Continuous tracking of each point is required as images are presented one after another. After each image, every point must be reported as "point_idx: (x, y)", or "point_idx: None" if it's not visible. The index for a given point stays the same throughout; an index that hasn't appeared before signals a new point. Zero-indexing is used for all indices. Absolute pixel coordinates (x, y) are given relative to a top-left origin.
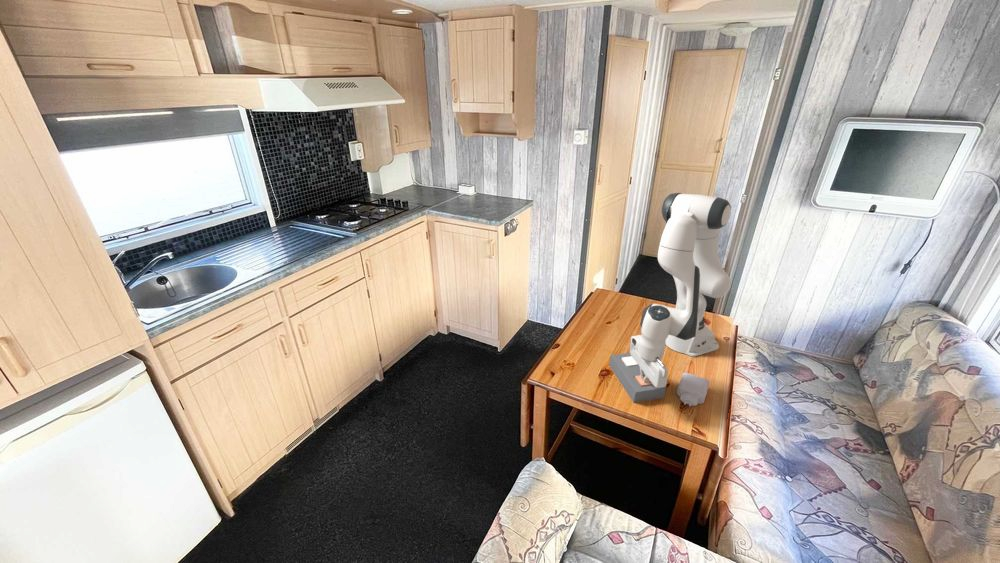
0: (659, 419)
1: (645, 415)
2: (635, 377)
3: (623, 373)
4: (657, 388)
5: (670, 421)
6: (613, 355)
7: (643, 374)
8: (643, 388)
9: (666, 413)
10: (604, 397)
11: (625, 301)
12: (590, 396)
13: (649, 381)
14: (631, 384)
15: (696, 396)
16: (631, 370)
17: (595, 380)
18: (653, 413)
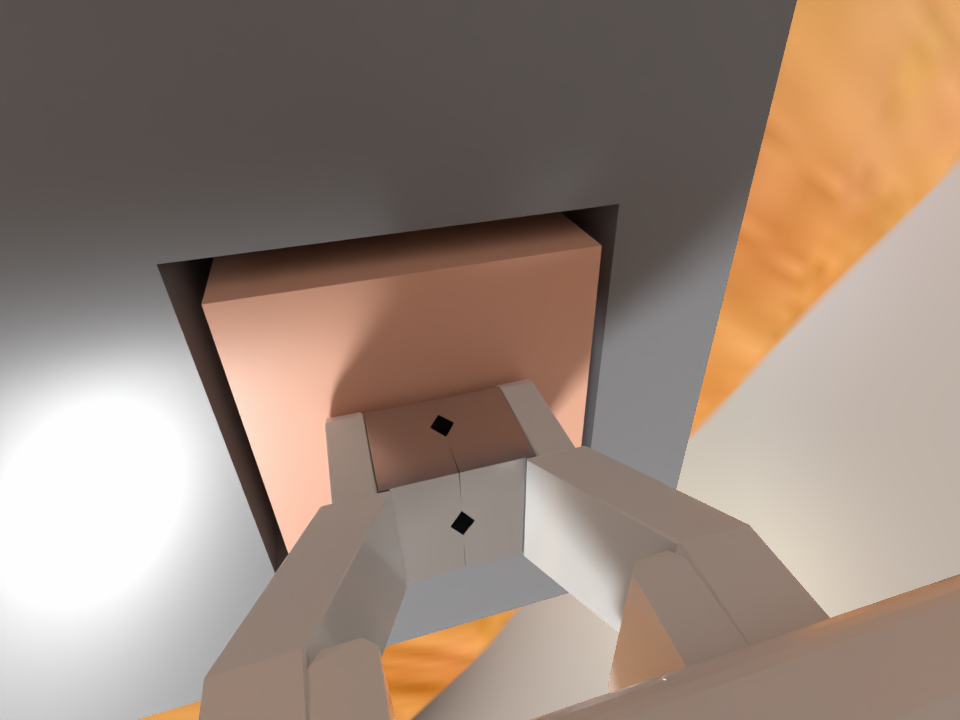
0: (864, 235)
1: (755, 359)
2: None
3: (199, 694)
4: (732, 211)
5: (954, 111)
6: None
7: (398, 547)
8: (632, 467)
9: (854, 96)
10: (447, 635)
11: None
12: (421, 707)
13: (511, 335)
14: (496, 602)
15: None
16: (50, 593)
17: (188, 707)
18: (774, 269)
